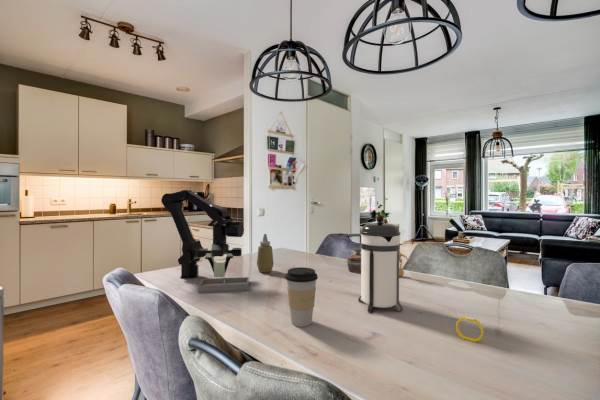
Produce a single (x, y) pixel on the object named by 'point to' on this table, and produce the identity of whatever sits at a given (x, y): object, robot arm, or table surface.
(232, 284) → the board
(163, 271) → the table surface
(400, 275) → the figurine
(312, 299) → the coffee cup
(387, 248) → the coffee press
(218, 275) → the sage block
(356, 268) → the cupcake
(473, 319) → the yellow ring
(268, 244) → the squeeze bottle
